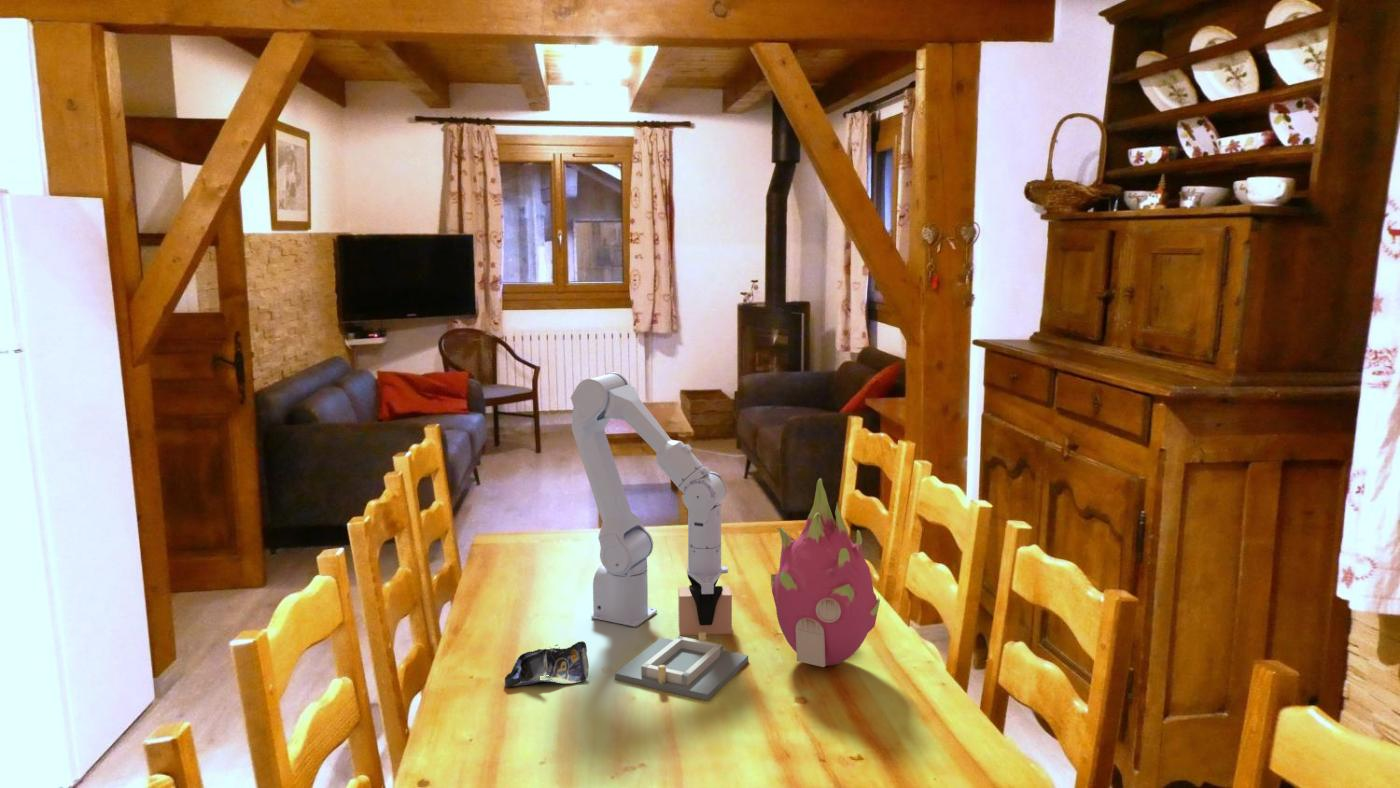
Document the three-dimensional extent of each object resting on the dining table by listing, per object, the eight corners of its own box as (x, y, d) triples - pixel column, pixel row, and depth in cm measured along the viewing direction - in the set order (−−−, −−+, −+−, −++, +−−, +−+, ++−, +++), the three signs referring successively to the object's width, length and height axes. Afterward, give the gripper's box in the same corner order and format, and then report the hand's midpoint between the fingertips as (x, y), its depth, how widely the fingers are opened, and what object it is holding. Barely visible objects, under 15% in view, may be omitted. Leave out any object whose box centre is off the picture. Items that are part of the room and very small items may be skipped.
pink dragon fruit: (756, 672, 152) (757, 487, 147) (781, 638, 164) (783, 467, 159) (868, 691, 145) (873, 498, 140) (885, 655, 158) (891, 477, 153)
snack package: (548, 706, 141) (602, 674, 151) (541, 663, 141) (595, 633, 151) (491, 697, 149) (546, 667, 158) (484, 656, 148) (539, 628, 158)
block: (679, 635, 166) (679, 596, 165) (678, 624, 170) (678, 587, 169) (731, 633, 166) (731, 595, 165) (729, 623, 171) (729, 585, 170)
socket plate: (615, 679, 149) (614, 658, 149) (661, 643, 163) (661, 623, 162) (707, 701, 142) (707, 678, 142) (748, 661, 156) (748, 640, 155)
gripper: (731, 557, 159) (731, 634, 161) (724, 530, 173) (724, 602, 175) (689, 558, 158) (689, 636, 161) (685, 531, 173) (685, 603, 175)
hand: (704, 618), depth 168 cm, fingers closed on block, 4 cm apart
